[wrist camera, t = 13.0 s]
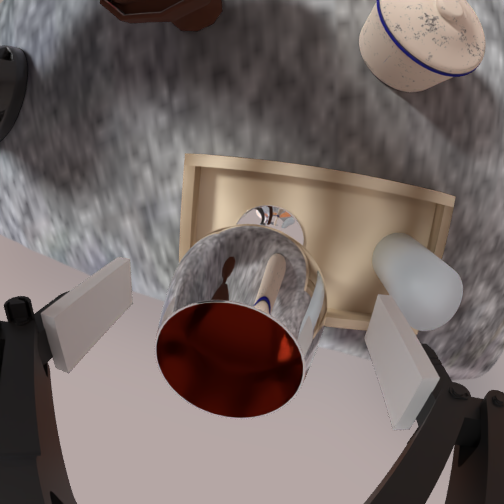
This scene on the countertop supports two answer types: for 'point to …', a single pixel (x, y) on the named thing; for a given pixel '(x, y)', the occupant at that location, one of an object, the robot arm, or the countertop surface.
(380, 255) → the white rounded capsule
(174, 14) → the ice cream bowl
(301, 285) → the wineglass
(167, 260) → the countertop surface
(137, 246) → the countertop surface
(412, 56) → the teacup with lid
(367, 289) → the tray
